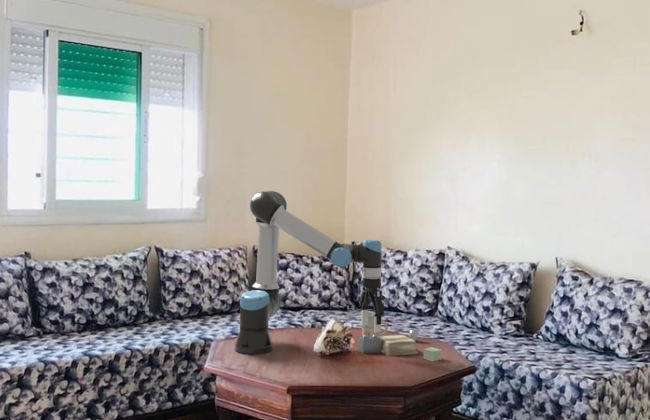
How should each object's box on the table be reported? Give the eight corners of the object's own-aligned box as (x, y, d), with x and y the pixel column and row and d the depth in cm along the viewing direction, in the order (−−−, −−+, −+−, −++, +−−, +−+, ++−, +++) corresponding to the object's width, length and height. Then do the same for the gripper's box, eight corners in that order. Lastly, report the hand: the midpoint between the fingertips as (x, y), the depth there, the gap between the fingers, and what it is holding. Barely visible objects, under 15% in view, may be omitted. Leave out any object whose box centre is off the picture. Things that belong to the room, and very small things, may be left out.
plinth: (374, 347, 280) (374, 335, 279) (403, 345, 284) (403, 334, 284) (387, 355, 267) (388, 343, 266) (417, 353, 271) (418, 341, 271)
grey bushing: (407, 340, 294) (407, 329, 294) (415, 340, 295) (415, 329, 295) (411, 342, 290) (412, 331, 290) (419, 342, 291) (420, 331, 291)
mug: (357, 337, 296) (358, 315, 296) (383, 336, 300) (384, 314, 299) (364, 342, 288) (364, 319, 288) (390, 341, 292) (391, 318, 291)
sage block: (423, 358, 265) (423, 348, 264) (431, 356, 268) (432, 347, 268) (432, 361, 261) (433, 351, 261) (441, 359, 264) (441, 349, 264)
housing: (358, 350, 275) (358, 334, 274) (375, 349, 277) (376, 333, 277) (362, 353, 270) (363, 337, 270) (380, 352, 273) (381, 335, 272)
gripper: (352, 273, 283) (351, 322, 284) (375, 282, 259) (374, 335, 260) (368, 273, 285) (367, 321, 286) (393, 281, 262) (392, 334, 263)
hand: (371, 328), depth 273 cm, fingers open, 13 cm apart
